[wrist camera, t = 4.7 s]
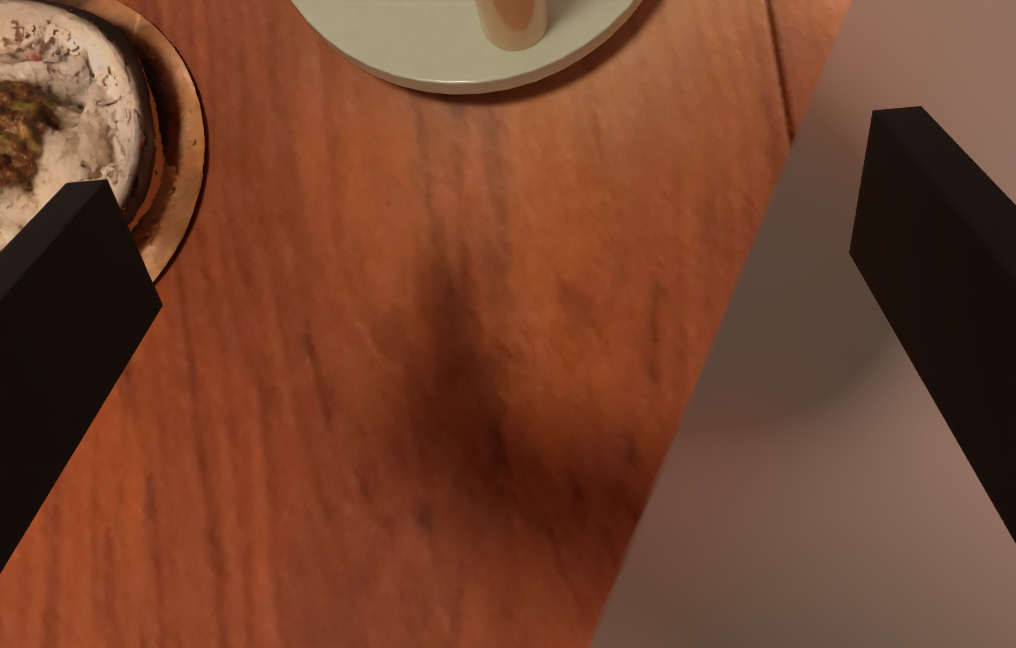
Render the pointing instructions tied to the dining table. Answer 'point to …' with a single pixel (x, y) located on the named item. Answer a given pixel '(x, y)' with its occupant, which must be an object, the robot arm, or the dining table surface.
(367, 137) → the dining table surface
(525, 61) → the turntable plate
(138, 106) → the cake on gold board
